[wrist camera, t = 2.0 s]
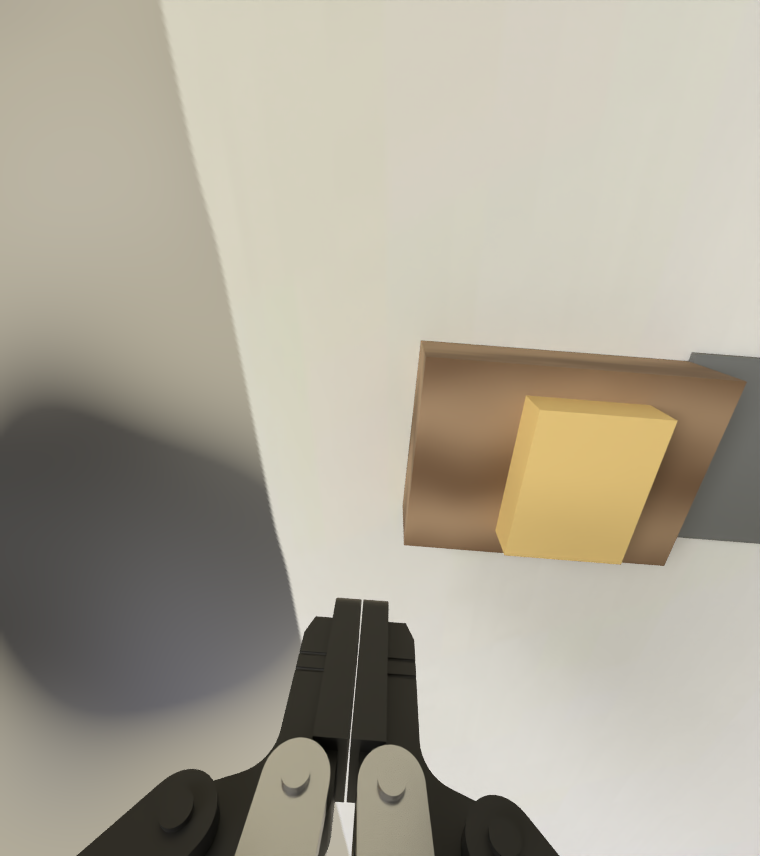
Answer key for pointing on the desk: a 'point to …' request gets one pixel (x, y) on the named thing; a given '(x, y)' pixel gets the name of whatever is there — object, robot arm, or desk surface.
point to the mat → (731, 463)
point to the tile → (580, 478)
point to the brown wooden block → (499, 421)
